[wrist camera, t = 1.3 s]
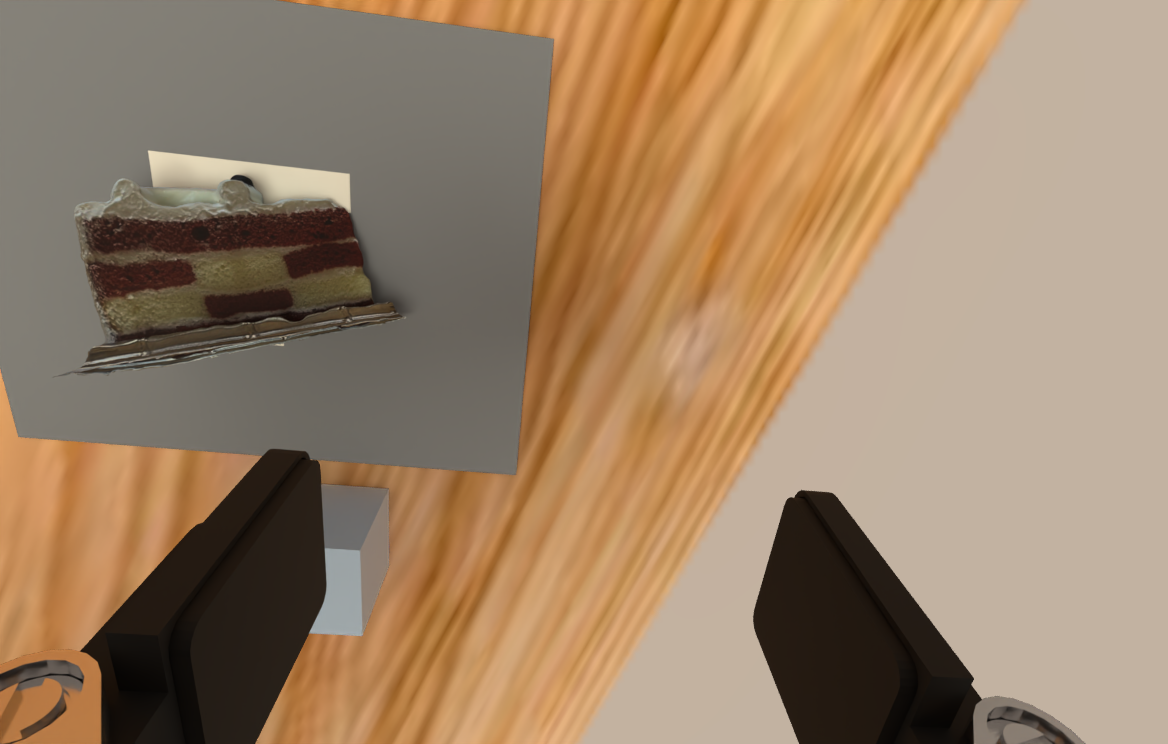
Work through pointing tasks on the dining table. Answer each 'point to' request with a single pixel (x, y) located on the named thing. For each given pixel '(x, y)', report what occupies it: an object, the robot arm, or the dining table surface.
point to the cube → (353, 556)
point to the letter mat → (278, 171)
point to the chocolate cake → (217, 273)
